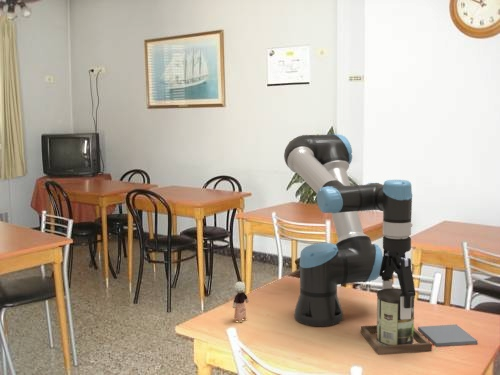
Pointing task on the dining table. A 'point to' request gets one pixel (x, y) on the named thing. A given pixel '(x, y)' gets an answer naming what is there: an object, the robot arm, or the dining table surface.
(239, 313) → the grandmother figurine
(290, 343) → the dining table surface
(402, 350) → the square picture frame
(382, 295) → the coffee can
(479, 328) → the dining table surface
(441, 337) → the mat
